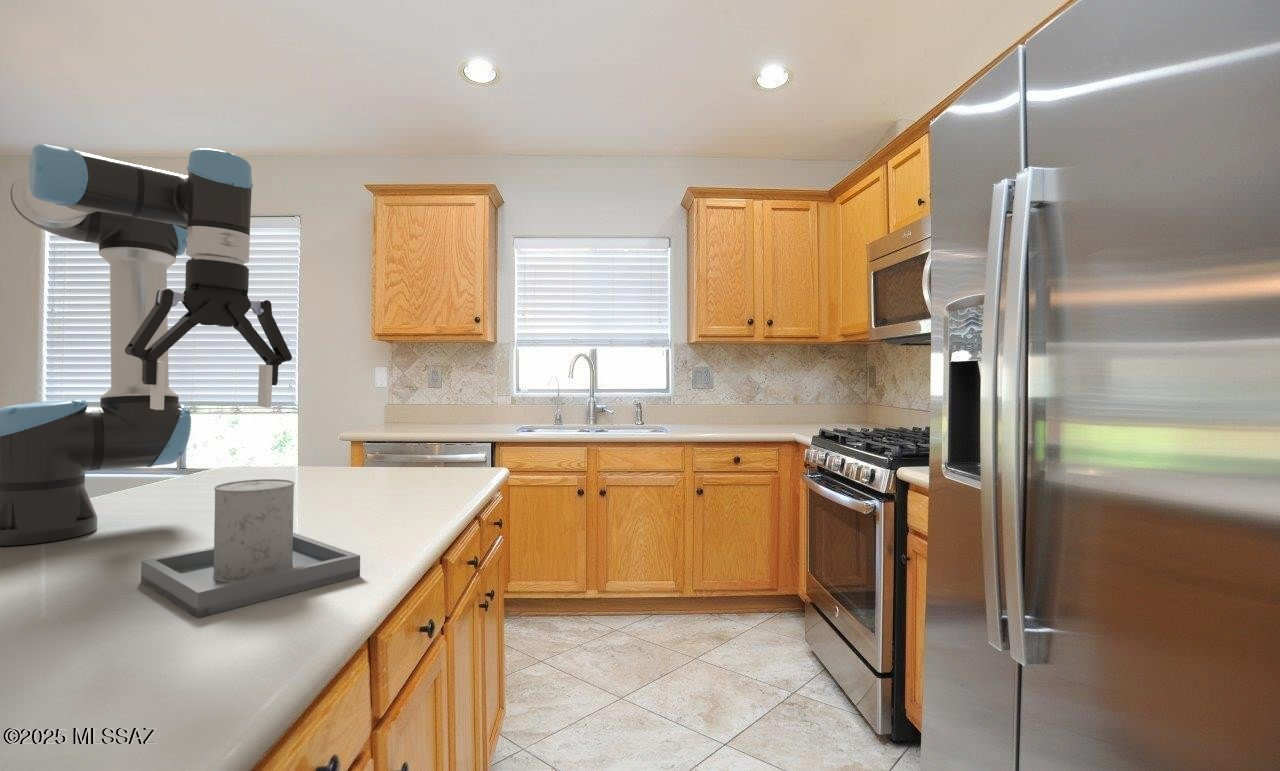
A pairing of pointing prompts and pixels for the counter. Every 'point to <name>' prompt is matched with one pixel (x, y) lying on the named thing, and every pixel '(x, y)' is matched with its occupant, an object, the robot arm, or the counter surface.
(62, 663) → the counter surface
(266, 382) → the robot arm
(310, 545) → the tray
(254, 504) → the speckled white tin can
